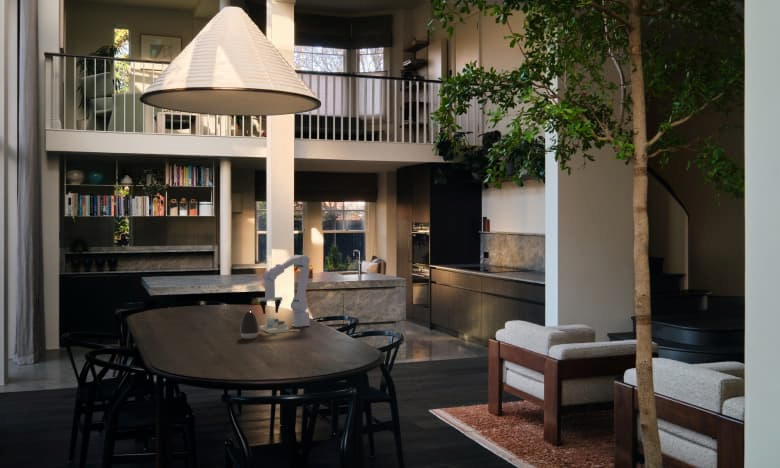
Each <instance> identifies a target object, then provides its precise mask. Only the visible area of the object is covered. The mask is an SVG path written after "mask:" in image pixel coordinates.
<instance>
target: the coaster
mask: <svg viewBox="0 0 780 468" xmlns="http://www.w3.org/2000/svg"><path fill="white" fill-rule="evenodd" d="M289 332H290V333H297V332H301V330H300V329H289Z"/></svg>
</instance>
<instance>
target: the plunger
mask: <svg viewBox="0 0 780 468" xmlns="http://www.w3.org/2000/svg"><path fill="white" fill-rule="evenodd" d="M277 323H278V324H279V325H280V324H286V322H285V321H284V320H279V321H277Z"/></svg>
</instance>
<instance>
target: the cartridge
mask: <svg viewBox="0 0 780 468" xmlns="http://www.w3.org/2000/svg"><path fill="white" fill-rule="evenodd" d="M274 319H275V317H271V316H270V317H267V318H266V325H267V327H271V326H274Z"/></svg>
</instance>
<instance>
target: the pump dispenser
mask: <svg viewBox="0 0 780 468" xmlns="http://www.w3.org/2000/svg"><path fill="white" fill-rule="evenodd" d="M256 317H257V316H256V315H255V314H254V312H253V311H247V312H245V313H244V315H243V316H242V319H241V323H240V328H239V329H240V330H239V332H240V334H241V337H242V338H243V339H245V340H254V339H256V338H257V336H258V334H259V332H260V331H259V330H260V328H259V325H258V324H259V323H258V320H257V318H256Z"/></svg>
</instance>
